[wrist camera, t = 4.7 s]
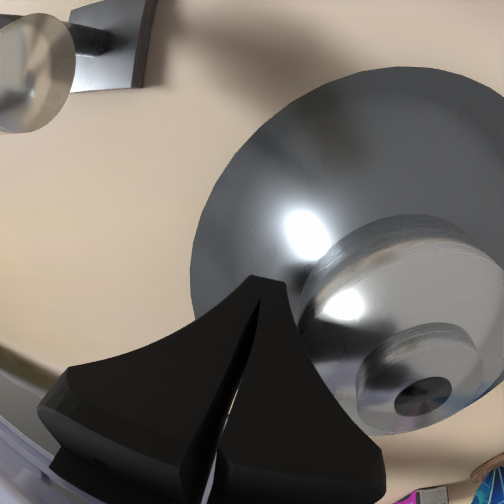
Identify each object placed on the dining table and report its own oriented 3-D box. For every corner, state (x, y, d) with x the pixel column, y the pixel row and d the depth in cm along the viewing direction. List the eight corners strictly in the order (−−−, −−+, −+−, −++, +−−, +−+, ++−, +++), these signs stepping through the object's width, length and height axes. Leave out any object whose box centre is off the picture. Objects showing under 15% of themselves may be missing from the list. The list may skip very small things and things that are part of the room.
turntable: (481, 427, 13) (490, 464, 10) (191, 395, 16) (171, 443, 13) (614, 195, 5) (651, 219, 2) (222, 20, 7) (178, -17, 4)
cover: (433, 386, 12) (449, 454, 8) (279, 368, 12) (264, 447, 9) (514, 242, 8) (573, 301, 4) (324, 188, 9) (333, 242, 5)
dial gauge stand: (139, 115, 10) (-16, 145, 4) (68, 116, 10) (-63, 149, 4) (157, -4, 7) (26, -60, 1) (82, 13, 8) (-42, -2, 2)
